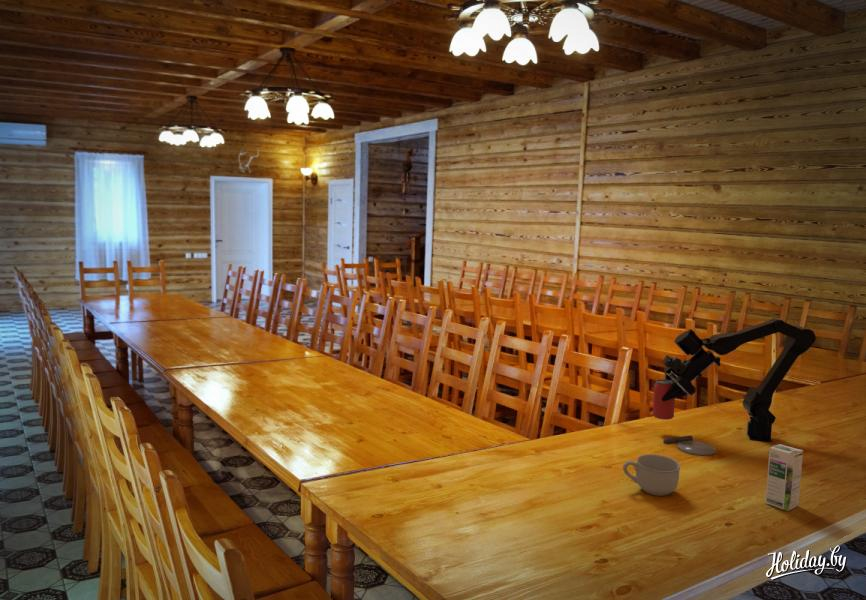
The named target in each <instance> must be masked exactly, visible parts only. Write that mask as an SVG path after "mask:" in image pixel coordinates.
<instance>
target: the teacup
mask: <svg viewBox="0 0 866 600" xmlns="http://www.w3.org/2000/svg"><path fill="white" fill-rule="evenodd" d="M629 466H632V467H633V468H634V471H635V475H634V474H631V473H630V472H629V470H628V467H629ZM680 469H681V464H680V462H678V461H677V460H676V459H674V458H672V457H668V456H666V455H661V454H654V453H653V454H652V453H651V454H642V455H639V456H638V457H637V458H636V461H633V460H627V461H625V462H624V463H623V466H622V471H623V473H624V474H625V475H626V476H627V477H628V478H630V479H631V480H632V481H633V482H634V483H635V484H637V485H638V486H639V487H640V489H642V491H644V492H645V493H647V494H649V495H651V496H658V497H659V496H660V497H664V496H667V495H669V494H671V493H673V492H674V491H675V490H676V489H677V487H678V484H679V479H680Z"/></svg>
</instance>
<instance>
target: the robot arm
mask: <svg viewBox="0 0 866 600" xmlns="http://www.w3.org/2000/svg"><path fill="white" fill-rule="evenodd" d="M777 333H779V334H782V335H784V336H786V337H785V340H784V345H783V349H782V351H781V353H780V354H779V355H778V356H777V358H776V360H775V361H774V363H773V365H772V366H771V367H770V369H769V371H767V373H766V374H765V376H764V377H763V379H762V380H761V382H760V384H759V385H758V386H757V387H755V388H752V387H749V388H748V389H747V391H746V393H745V394H744V395H743V396H742V399H743V400H742V406H743V408H744V410H745V411H746V412H747V415H748V416H749V421H747V422H746V423H747V424H746V435H747V437H748V439H750V440H751V441H762V442H772V441H773V439H772V430H773V424H774V423H775V421H776V419H777V417H776V416H775V415H774V414H773V413H772V412H771V410H770V409H771V405H772V403H773V402H772V401H773V397H774V393H775V392H776V390H777V389H778V387H779V386H780V385H781V383H782V382H783V380H784V379H785V377H786V376H787V374H788V373H789V371H790V370H791V368H792V366H793V365H794V363H795V362H796V360H797V359H798V358H799V357H800V356H801V355H802V354H803V355H804V353H806V352H807V351H808V350H809V349H811V347H812V346H813V345H814V344H815V343H816V341H817V337H816V334H815V332H814V331H813V330H811V329H809V328H806V327H803V326H800V325H796V326H794V325H792V324H790V323H788V322H786V321H784V320H782V319H781V318H776V317H774V318H771V319H769V320H767V321H763V322H761V323H757V324H755V325H752V326H749V327H746V328H744V329H741V330H737V331H733V332H722V333H717V334H714V335H711V336H709V337H708V338H700V337H699V336H698V335H697V334H696V332H695V330H693V329H692V328H689V329H688V330H686V331H683V332H682V333H680V334H679V335H677V337H675V339H674V344H675V345H676V346H677V347H679V349H680V350H681V351H682V352H683V353H684V354H685V355H686V356H689V355H690V356H691V357H690V358H689V359H684V360H682V359H680V358H678V357H677V356H674V357H672V356H670V355H668V354H665V357H664V358H663V360H662V362H661V363H662V365H664V366H665V368H664V369H663V370H664V380H671V381H672V387H671V388H670V389H669V390H668V391H667V392H666V394H665V395H664V396H663V397H662V400H663V401H667V400H670V399H674V398H675V399H676V398H680V397H683V396H688V395H690V397H692V396H693V395H695V393H696V391H697V388H696V387H695V386H694V385H693V381H695V379H696V378H701V377H702V376H703V374H702V373H703V372H705V371H706V370H707V369H708V368H710V366H711V365H712V364H715V365H716V366H717V367H720V366H721V359H722V358H721V357H720V356H726V355H728V354H730V353H732V352H733V351H735V350H737V349H738V348H739V347H740V346H743V345H744V344H748V343H750V342H753V341H756V340H759V339H762V338H764V337H768V336H771V335H774V334H777ZM703 347H704V348H703ZM705 349H707V350H705ZM712 352H714V353H715V354H717V355H719V356H716V355H715V354H714V353H712Z"/></svg>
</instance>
